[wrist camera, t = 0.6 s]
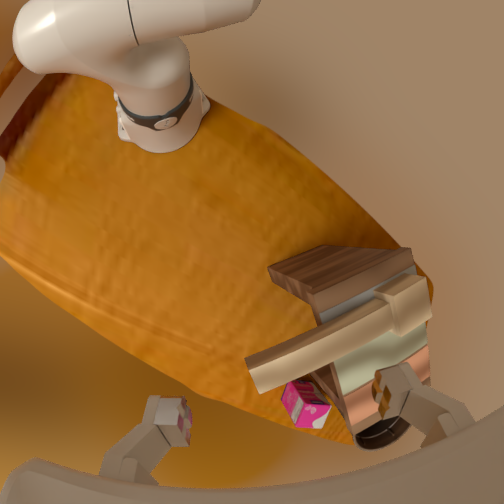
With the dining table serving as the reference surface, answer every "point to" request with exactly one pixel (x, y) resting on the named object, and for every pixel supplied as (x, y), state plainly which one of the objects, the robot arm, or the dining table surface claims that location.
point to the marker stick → (344, 333)
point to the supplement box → (305, 404)
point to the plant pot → (380, 433)
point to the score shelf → (342, 301)
